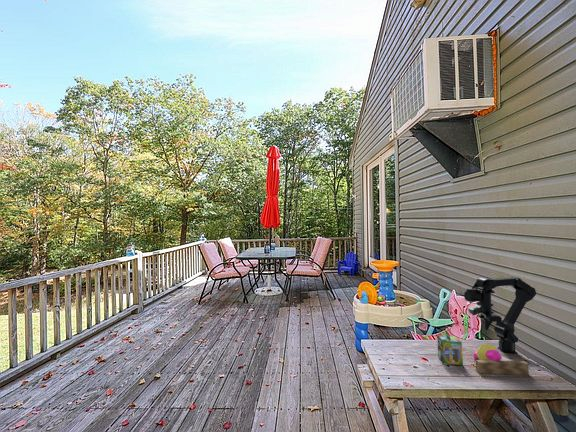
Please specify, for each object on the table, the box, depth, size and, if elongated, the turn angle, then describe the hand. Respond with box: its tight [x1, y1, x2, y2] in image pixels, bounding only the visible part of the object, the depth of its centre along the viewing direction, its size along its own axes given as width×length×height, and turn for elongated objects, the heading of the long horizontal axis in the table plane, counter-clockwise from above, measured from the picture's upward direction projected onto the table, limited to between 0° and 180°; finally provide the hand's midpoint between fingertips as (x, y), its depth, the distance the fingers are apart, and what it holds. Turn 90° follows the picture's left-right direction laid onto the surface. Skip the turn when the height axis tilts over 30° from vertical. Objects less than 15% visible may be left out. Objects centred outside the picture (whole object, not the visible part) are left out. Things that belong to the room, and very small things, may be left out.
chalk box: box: [436, 330, 464, 366], centre depth 148 cm, size 9×9×15 cm
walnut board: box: [475, 359, 530, 376], centre depth 135 cm, size 22×2×5 cm, turn 85°
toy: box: [473, 343, 502, 361], centre depth 145 cm, size 10×18×10 cm, turn 176°
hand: (486, 329), depth 158 cm, fingers closed
